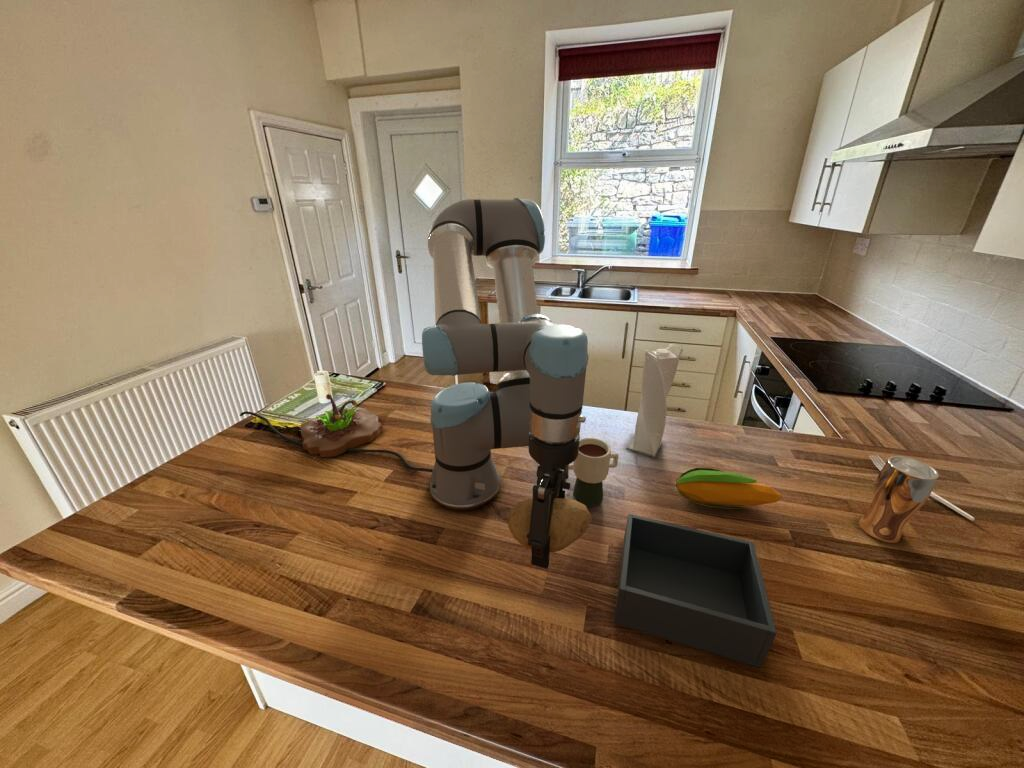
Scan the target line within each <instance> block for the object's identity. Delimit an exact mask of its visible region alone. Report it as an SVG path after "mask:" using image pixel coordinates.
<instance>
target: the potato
mask: <svg viewBox="0 0 1024 768" xmlns="http://www.w3.org/2000/svg"><path fill="white" fill-rule="evenodd" d="M532 501H533V498H531V499H525V500H520V501H517V502H516V504H514V505H513V506H512V507H511V509H510V510H509V514H508V517H507V527H508V530H509V531H510V533H511V535H512V537H513V538H514V540H516V541H517V543H519V544H520V545H521V546H523V547H524V548H525V549H527V550H531V551H532V546H529V545H528V538H526V535H527V534H528V533H529V529H530V519H531V510H532ZM591 521H592V516H591V513H590V512H589V509H588V506H586V505H584V504H582V503H580V502H577V501H576V500H575V499H573V498H566V497H565V498H555V500H554V506H553V513H552V519H551V525H550V531H549V536H550V553H557V552H559V551H562V550H564V549H566V548H568V547H569V546H570V545H571V544H573V543H575V542H576V541H578V540H579V539H580V538H581V537H582V536H583V535H585V534H586V532H587V530H588V528H589V526H590V524H591Z"/></svg>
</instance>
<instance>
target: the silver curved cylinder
mask: <svg viewBox="0 0 1024 768" xmlns="http://www.w3.org/2000/svg"><path fill="white" fill-rule="evenodd" d="M885 463H886V464H885V465H884V467H883V468H882V470H881V471H880V472H879V473H878V475H877V476H876V477H877V478H876V479H875V482H874V485H873V489H872V495H871V500H870V504H869V507H868V510H867V511H866V512H865V514H863V515H862V517H861V518H860V519H859V521H858V525H859V527H860V529H861V530H862V531H863V532H864V533H866V534H867V535H868V536H870V537H872V538H874V539H876V540H878V541H881V542H884V543H890V544H895V543H896V544H897V543H898V542H900V541H901V538H902V534H903V530H904V527H905V526H906V525H907V523H908V521H909V520H910V519H911V518H912V517H913V516H914V515H915V514H917V512H918V511H919V510H921V508H922V507H923V506H924V504H925V503H926V502H927V500H928V499H929V497H931V496H930V494H931V492H933V490H934V488H935V485H936V483H937V480H938V478H939V477H940V475H939V472H938V471H937V470H936V469H935V468H934V467H933V466H930V465H929V464H927V463H925V462H923V461H921V460H918V459H916V458H913V457H909V456H904V455H892V456H889V457H888V459H887V461H886V462H885Z"/></svg>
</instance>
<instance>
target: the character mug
mask: <svg viewBox="0 0 1024 768" xmlns="http://www.w3.org/2000/svg"><path fill="white" fill-rule="evenodd" d="M611 450H612V449H611V445H610V444H609V443H608V442H606V441H604V440H602V439H599V438H597V437H583V438H580V442H579V453H578V456H577V458H576V460H575V461H573V462H572V464H569V465H568V471H570V470H572V471H573V473H574V476H575V477H576V478H575V483H574V485H573V491H572V497H573V498H574V500H575V501H577V502H580V503H582V504H584V505H586V507H587V508H589V507H596V506H598V505H600V504H601V503H602V502H603V500H604V487H603V485H604V484H603V483H604V482H603V481H605V480H606V479H607V476H608V475H609V471H610V469H612V468H617V467H618V462H619V453H617V452H612V451H611ZM611 459H613V460H612V462H611Z"/></svg>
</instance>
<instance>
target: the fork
mask: <svg viewBox="0 0 1024 768" xmlns="http://www.w3.org/2000/svg"><path fill="white" fill-rule="evenodd" d="M869 458H870V460H871V462H872V463H873V464H874V466H875V467H876V468H877V469H878V471H880V472H881V470H882V468H883V467H884V465H885V464H886V462H885V461H884V460H883V459H882V458H881V456H879V454H878V453H877V454H874V455H873V454H872V455H869ZM929 497H931V498H933V499H935V500H936V501H938V502H940V503H942V504H943V505H945V506H946V507H948V508H950V509H952V510H953V511H955V512H957V513H958V514H959V515H961V516H963V517H964V518H966V519H967V520H969V521H970V522H974V521H976V518H975V517H973V516H972V515H970V514H969V513H968V512H966V511H965V510H962V509H961V508H960V507H958V506H956V505H955V504H953V503H951V502H950V501H948V500H946V499H945V498H944V497H942V496H939V495H938V494H937V493H935V492H933V491H932V492H931V494H930V496H929Z"/></svg>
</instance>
